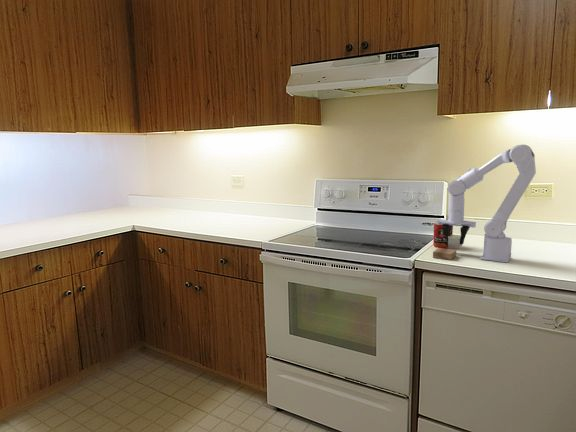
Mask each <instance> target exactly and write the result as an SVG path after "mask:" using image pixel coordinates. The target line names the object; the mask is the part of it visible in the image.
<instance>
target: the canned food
mask: <svg viewBox="0 0 576 432" xmlns="http://www.w3.org/2000/svg"><path fill="white" fill-rule="evenodd" d="M437 220H438V219H436V220H434V221H433V242H432V243H433V247H435V248H436V249H437V248H444V249H449V248H448V243H447V239H446V235H445V233H444V231H443V229H442V226H443V225H437ZM453 229H454V226H452V225H451V232H450V235H451V234H453V232H454V231H453ZM453 235H454V234H453Z"/></svg>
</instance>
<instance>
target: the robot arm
mask: <svg viewBox="0 0 576 432" xmlns="http://www.w3.org/2000/svg"><path fill="white" fill-rule="evenodd" d="M535 160H536V159H535V153H534V152H533V149H532V148H531V146H529V145H527V144H517V145H515V146H513V147H512V148H510V149H507V150H504V151H502V152H501V153H499V154H498V155H496V156H495V157H493V158H492V159H491V160H489V161H487V162H486V163H485V164H484V165H482V166H480V167H479V168H477V167H473V168H468V169H467V170H466V171H467V172H465V173H463V174H462V175H459V176H457V177H456V180H455V179H454V180H451V182H450V183H449V184H448V185H447V191H448V193H449V197H448V216H447V217H448V219H440V218H439V219H436V220H437V225H443V226H442V229H443V231H444V233H445V235H446V239H447V243H448V236H450V232H451V225H452V226H453V227H454V226H455V227H460V230H459V231H460V235H461V240H460V244H461V245H462V246H463V245H464V242H465V238H466V236H467V234H468V231H469V230H470V228H476V225H477V222H476V221H469V220H465V219H464V218H465V192H466V191H467V190H469V189H471V188H472V187H474V186H476V185H477V184H478V183H480V182H482V181H483V180H484V176H485V175H487V174H488V173H489V172H492V171H493V170H494V169H496V168H498V167H499V166H500V167H501V165H503V164H508V163H509V164H510V163H512V162H513V163H514V164H515V165H516V168H517V170H518V175H517V176H516V179H515V180H514V182H513V184H512V185H511V187H510V189H509V191H508V192H507V193H506V196H505V197H504V199H503V200H502V202H501V204H500V206H499V208H498V209H497V210H496V212H495V213H494V215H493V216H492V217H491V218H490V220H489V221H487V222H486V223H485V224H484V227H483V229H484V230H483V231H484V237H483V253H482V254H483V255H482V256H481V257H480V260H484V261H492V262H500V263H509V261H510V260H511V258H512V243H513V242H512V237H508V236H506V234H505V232H504V231H505V230H506V229H507V222H508V220H509V219H510V216H511V215H512V213H513V211H514V210H515V208H516V206H517V205H518V204H519V201H520V200H521V198H522V197H523V195H524V193H525V192H526V191H527V189H528V187H529V185H530V184H531V182H532V181H533V179H534V177H535V176H536V173H537V170H536V169H537V168H536V161H535Z"/></svg>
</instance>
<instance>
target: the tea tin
mask: <svg viewBox="0 0 576 432" xmlns="http://www.w3.org/2000/svg"><path fill="white" fill-rule="evenodd" d="M460 240H461V234H451V235H450V236H448V248H447V249H452V250H461V248H463V244H462V245H461V244H460Z"/></svg>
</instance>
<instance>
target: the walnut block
mask: <svg viewBox="0 0 576 432" xmlns="http://www.w3.org/2000/svg"><path fill="white" fill-rule="evenodd" d="M456 256H457V249H452V248H437V247H436V249H434V250H433V252H432V258H433V259H439V260H446V261H447V260H448V261H452V260H453V259H454V258H455V257H456Z"/></svg>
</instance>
